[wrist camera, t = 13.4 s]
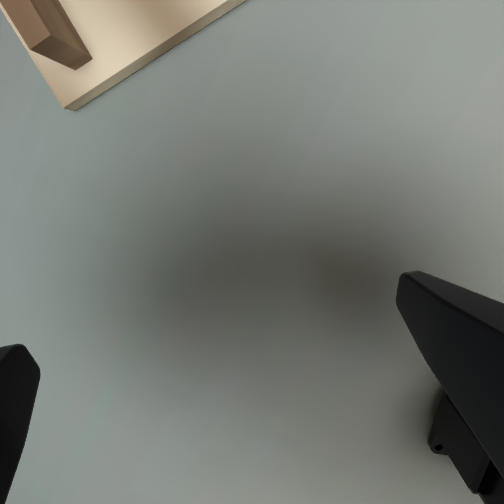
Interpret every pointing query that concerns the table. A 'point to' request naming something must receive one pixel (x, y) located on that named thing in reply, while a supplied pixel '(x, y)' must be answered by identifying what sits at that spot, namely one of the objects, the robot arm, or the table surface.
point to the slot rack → (103, 38)
